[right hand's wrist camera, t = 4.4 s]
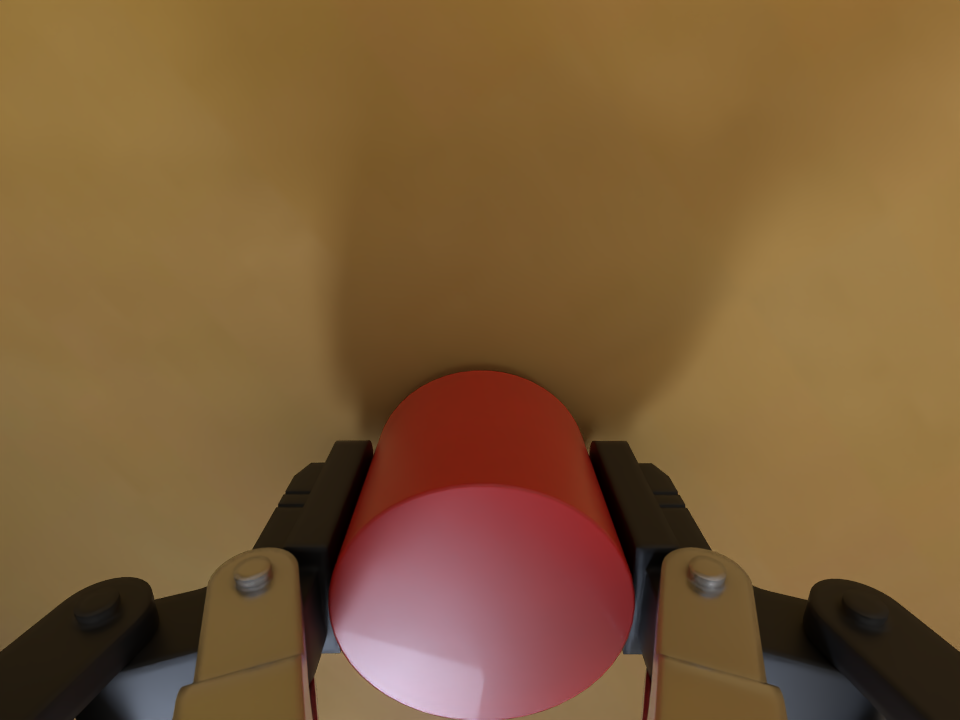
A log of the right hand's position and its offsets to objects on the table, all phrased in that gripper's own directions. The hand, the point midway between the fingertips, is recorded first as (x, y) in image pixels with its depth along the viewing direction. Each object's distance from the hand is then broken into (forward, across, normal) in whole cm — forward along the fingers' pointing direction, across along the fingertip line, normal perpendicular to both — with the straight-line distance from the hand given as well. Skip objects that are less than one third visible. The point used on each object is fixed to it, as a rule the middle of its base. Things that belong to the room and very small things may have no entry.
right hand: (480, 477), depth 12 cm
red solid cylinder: (0, 0, 0) cm, 0 cm away
